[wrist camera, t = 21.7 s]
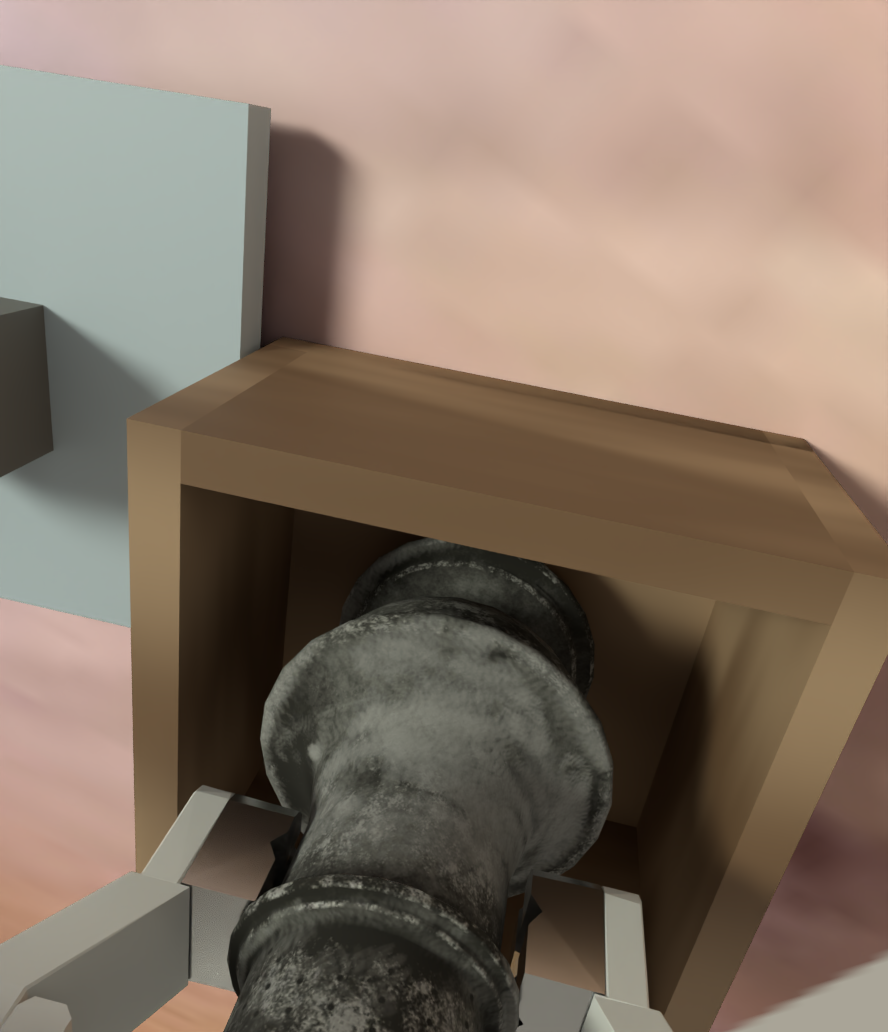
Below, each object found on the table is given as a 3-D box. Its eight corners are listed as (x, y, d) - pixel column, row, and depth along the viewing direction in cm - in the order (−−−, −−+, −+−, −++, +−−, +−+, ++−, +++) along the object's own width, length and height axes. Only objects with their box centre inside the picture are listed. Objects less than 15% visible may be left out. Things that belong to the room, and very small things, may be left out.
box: (658, 834, 20) (682, 1086, 14) (257, 734, 21) (137, 933, 15) (804, 439, 15) (919, 585, 10) (283, 336, 16) (125, 417, 11)
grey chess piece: (670, 686, 15) (842, 1876, 5) (447, 804, 18) (213, 1794, 7) (483, 461, 14) (129, 1351, 3) (270, 619, 17) (-348, 1459, 6)
